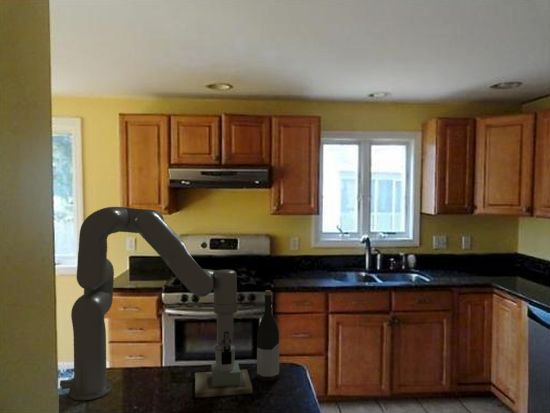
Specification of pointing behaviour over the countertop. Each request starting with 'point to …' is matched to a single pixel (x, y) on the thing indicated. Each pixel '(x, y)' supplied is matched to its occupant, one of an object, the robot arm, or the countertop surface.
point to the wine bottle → (268, 344)
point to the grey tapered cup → (219, 359)
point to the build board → (207, 390)
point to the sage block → (226, 376)
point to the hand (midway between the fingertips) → (225, 358)
